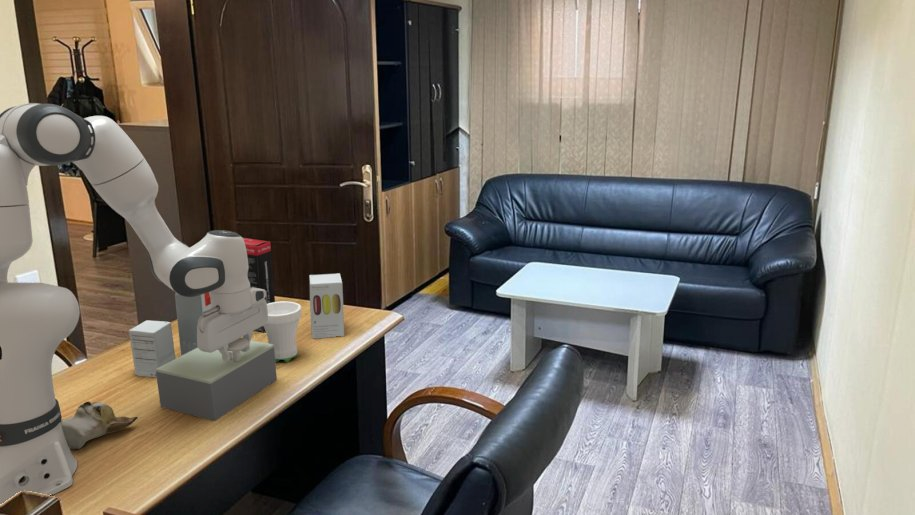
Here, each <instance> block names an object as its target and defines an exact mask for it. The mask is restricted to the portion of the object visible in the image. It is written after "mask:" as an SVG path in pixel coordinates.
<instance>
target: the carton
mask: <svg viewBox="0 0 915 515" xmlns="http://www.w3.org/2000/svg"><path fill="white" fill-rule="evenodd" d="M276 368H277V366H276V362H275V352H274V347H273V348H271V349H270V350H268V351H266V352H264V353H263V354H261V355H259V356H258V357H256V358H254V359H252V360H251V361H249V362H247V363H246V364H244V365H242V366H240V367H239V368H237V369H235V370H234V371H232V372H230V373H228V374H227V375H225V376H223V377H222V378H220V379H218V380H216V381H215V382H213V383H211V384H209V383H204V382H200V381H195V380H191V379H187V378H182V377H178V376H174V375H169V374H165V373H161V372H156V377H157V378H156V383H157V391H158V397H159V404H160V405H159V406H160V408H163V409H166V410H170V411H174V412H179V413H182V414H185V415H186V414H187V415H191V416H195V417H198V418H200V419H201V418H203V419H206V420H210V421H214V422H215V421H217V420H218V419H219V418H222V417H223V416H225V415H226V414H227V413H229V412H230V411H232V410H234V409H235V408H236V407H238V406H240V405H241V404H243V403H244V402H246V401H247V400H249V399H250V398H252V397H253V396H255V395H256V394H258V393H259V392H261V391H263V390H264V389H265V388H268V387H269V386H270V385H272V384H273V383H274V382H276V381H277V380H278V379H277V378H278V377H277V369H276Z"/></svg>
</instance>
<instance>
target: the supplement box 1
mask: <svg viewBox="0 0 915 515" xmlns="http://www.w3.org/2000/svg"><path fill="white" fill-rule="evenodd" d="M128 332H129V333H128V334H129V340H130V347H131V354H132V361H133V366H134V367H133V368H134V373H135V376H138V377H146V378H156V379H157V377H156V368H158V367H160V366H162V365H164V364H166V363H168V362H170V361H172V360H174V359H176V358H177V357H176V351H175V350H176V349H175V343H174V337H173V336H174V335H173V329H172V323H171V322H170V321H163V320H161V321H160V320H147V319H146V320H145V321H143V322H141V323H140V324H138V325H136V326H134V327H132V328H130V329H129V330H128Z"/></svg>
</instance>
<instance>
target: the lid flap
mask: <svg viewBox="0 0 915 515" xmlns="http://www.w3.org/2000/svg"><path fill="white" fill-rule="evenodd" d="M247 347H248V340H247V339H245V338H243V337H241V338H239V339H237V340H235V341H233V342H231V343H229V344H228V348H227V350H228V352H231V353H232V357H233V359H232V360H230V361H228V362H225V361H223V360H222V354H221V353H220V352H219V350H216V351H214V352H212V353H208V352H203V351H201V350H199V349H198V348H196V349H194V350H192V351H190V352H188V353H186V354H184V355H182V356H181V355H180V356H179V357H176V359H174V360H172V361H170V362H168V363H166V364H164V365H162V366H160V367H158V368H156V372H161V373H165V374H169V375H174V376H178V377H182V378H187V379H191V380H195V381H200V382H204V383H209V384H211V383H213V382H215V381H216V380H218V379H220V378H222V377H223V376H225V375H227V374H228V373H230V372H232V371H234V370H235V369H237V368H239V367H240V366H242V365H244V364H246V363H247V362H249V361H251V360H252V359H254V358H256V357H258V356H259V355H261V354H263V353H264V352H266V351H268V350H270V349H271V348H273V347H274V345H273V344H269V343H268V342H262V341H257V340H252V339H251V341H250V350H248V351H246V352H242V351H241V350H242V349H245V348H247Z"/></svg>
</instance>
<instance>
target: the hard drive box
mask: <svg viewBox="0 0 915 515" xmlns="http://www.w3.org/2000/svg"><path fill="white" fill-rule="evenodd" d="M174 299H175V300H174V301H175V309H176V319H177V330H178V338H179V340H178V341H179V349H180V351H179V352H180V356H182V355H184V354H186V353H188V352H190V351H192V350H194V349H196V348H198V347H197V325H198V319H199V318H200V316H201V315H202V313H203V312H204V311H207V310H209V309H211V299H210V292H208V293H205V294H202V295H199V296H195V297H185V296H182V295H179V294H178V293H176V292H175V294H174Z"/></svg>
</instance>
